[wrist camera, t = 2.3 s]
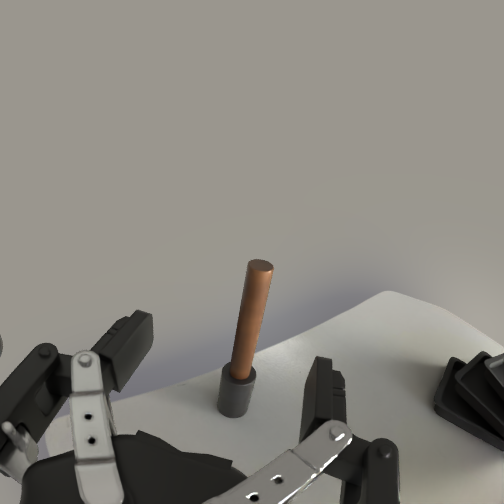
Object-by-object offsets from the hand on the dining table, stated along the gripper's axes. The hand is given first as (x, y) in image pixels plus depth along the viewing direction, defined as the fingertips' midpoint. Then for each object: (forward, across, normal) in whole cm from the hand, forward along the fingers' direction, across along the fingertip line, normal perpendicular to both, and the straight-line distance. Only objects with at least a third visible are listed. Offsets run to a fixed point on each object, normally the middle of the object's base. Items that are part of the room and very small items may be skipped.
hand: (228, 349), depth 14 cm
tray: (+14, -42, +19) cm, 48 cm away
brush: (+10, 0, +18) cm, 21 cm away
